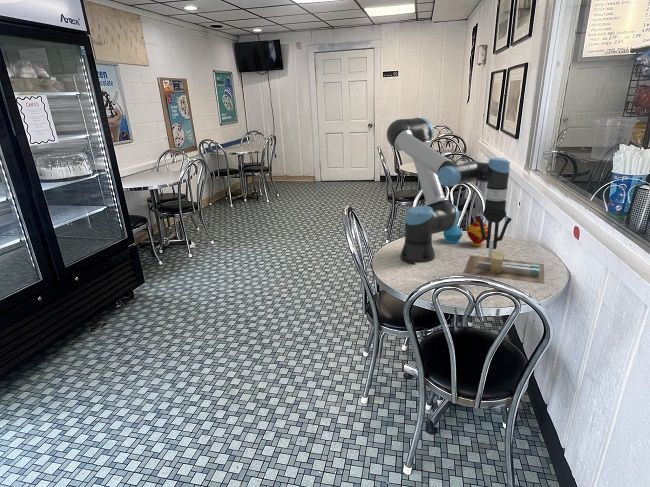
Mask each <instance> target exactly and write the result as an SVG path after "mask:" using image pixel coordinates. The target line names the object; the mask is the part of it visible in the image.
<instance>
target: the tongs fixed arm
mask: <svg viewBox="0 0 650 487" xmlns="http://www.w3.org/2000/svg"><path fill="white" fill-rule="evenodd" d="M477 267H479V268H487V269H491V263H487V262H479V261H478V263H477ZM501 272H505V273H513V274H520V275H528V276H535V277H539V269H538V268H528V267H520V266H512V265H504V264H502V270H501Z"/></svg>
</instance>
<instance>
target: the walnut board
mask: <svg viewBox="0 0 650 487" xmlns="http://www.w3.org/2000/svg"><path fill="white" fill-rule="evenodd" d="M491 259H492V257H488V256H479V255H469V258H468V261H467V262H466V265H465V267H464V270H463V274H471V275H477V276H486V277H491V278H492V277H493V278H498V279H500V278H501V279H507V280H514V281H519V282H520V281H521V282H529V283H535V284H542V285H545V283H546V282H545V264H544V263H538V262H530V261H522V260H521V261H520V260H513V259H512V260H511V259H503V262H510V263H520V264H534V265H539V277H535V276H528V275H520V274H513V273H505V272H501V274H500V273H493V272H490V269H487V268H479V267H477V263H478V261H479V262H487V263H491Z"/></svg>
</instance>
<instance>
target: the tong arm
mask: <svg viewBox="0 0 650 487" xmlns="http://www.w3.org/2000/svg"><path fill="white" fill-rule="evenodd" d="M502 264H504V265H512V266H520V267H528V268H538V269H539V265H534V264H520V263H510V262H503V261H502Z"/></svg>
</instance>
